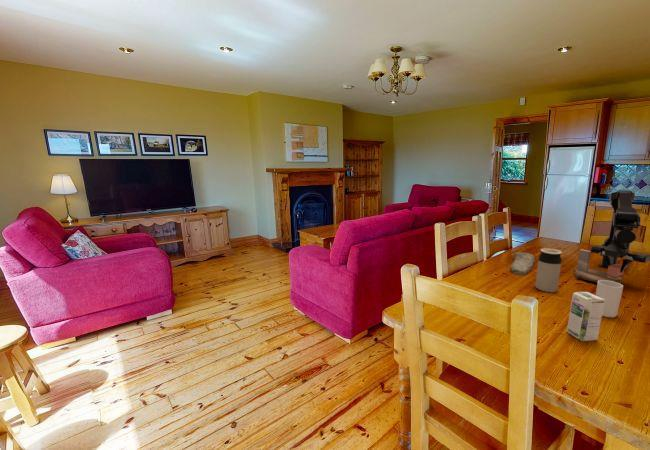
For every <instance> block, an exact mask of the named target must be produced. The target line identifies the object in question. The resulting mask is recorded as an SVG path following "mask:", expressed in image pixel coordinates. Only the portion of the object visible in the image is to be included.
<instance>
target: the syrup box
mask: <svg viewBox="0 0 650 450" xmlns="http://www.w3.org/2000/svg"><path fill="white" fill-rule="evenodd" d="M604 302H605V299H603V298H600V297H598V296H596V294H593V293H591V292H589V291H576V292H573V293H572V298H571V302H570V310H569V317H568V320H567V321H568V322H567V327H566V333H567V332H568V334H570V335H571V336H573V338H574V337H575V338H576V339H577V340H579V341H581V342H591V341H598V338H599V333H600V328H601V323H602V317H603V316H602V313H603V307H604Z"/></svg>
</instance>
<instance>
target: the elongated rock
mask: <svg viewBox="0 0 650 450" xmlns="http://www.w3.org/2000/svg"><path fill="white" fill-rule="evenodd" d="M513 255H514V260H513V262H512V263H511V265H510V268H511V272H512V273H513V274H515V275H518V276H526V275H527V274H528V273H529V272H530V271H531V270H532V269H533V268H532V267H533V265H534V263H535V261H536V259H535V256H534V255H533V254H532V253H528V252H522V251H519V252H518V251H517V252H515V253H514V254H513Z"/></svg>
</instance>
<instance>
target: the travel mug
mask: <svg viewBox="0 0 650 450" xmlns="http://www.w3.org/2000/svg"><path fill="white" fill-rule="evenodd" d="M562 254H563V252H562V250H559V249H555V248H547V247H546V248H540V254H539V256H538V262H537V268H536V278H535V286H534V287H535V288H536V289H538V290H539V291H542V292H545V293H555V292H558V287H559V281H560V275H561V268H562V260H563V259H562V257H561V255H562Z"/></svg>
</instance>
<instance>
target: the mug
mask: <svg viewBox="0 0 650 450" xmlns="http://www.w3.org/2000/svg"><path fill="white" fill-rule="evenodd" d="M596 284H597V285H596V289H595V290H596V292H595V296H598V297H600V298H603V299H605V302H604V307H603V313H602V317H605V318H615V317H617V315H618V311H619V308H620V307H619V306H620V303H621V298H622V294H623V289H624V285H623V284H621V283H617V282H613V281H608V280H599V281H598V283H596Z"/></svg>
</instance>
